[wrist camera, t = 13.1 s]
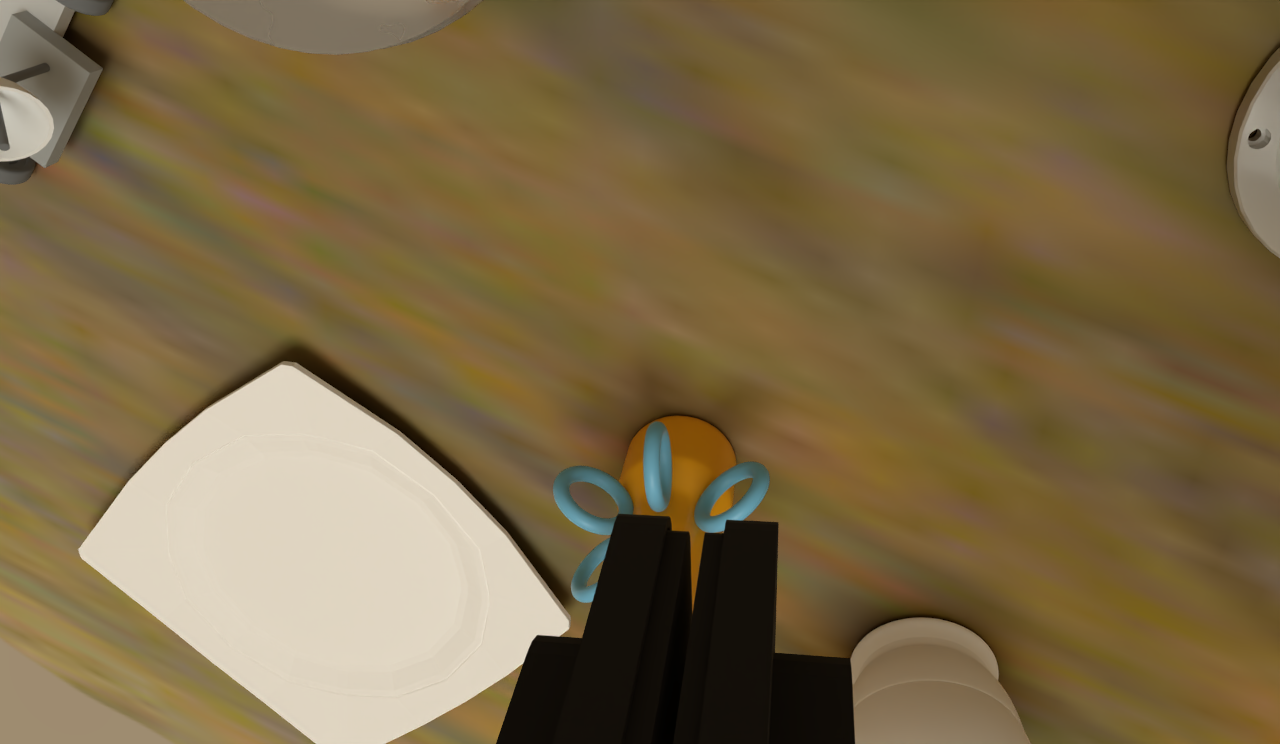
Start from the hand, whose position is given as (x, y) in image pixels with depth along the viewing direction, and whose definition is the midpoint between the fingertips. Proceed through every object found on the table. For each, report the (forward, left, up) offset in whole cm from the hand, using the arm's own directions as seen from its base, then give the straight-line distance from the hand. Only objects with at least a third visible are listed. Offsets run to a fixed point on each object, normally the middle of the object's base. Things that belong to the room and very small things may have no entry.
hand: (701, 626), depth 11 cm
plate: (+27, +32, -38) cm, 56 cm away
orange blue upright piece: (+5, +23, -37) cm, 44 cm away
